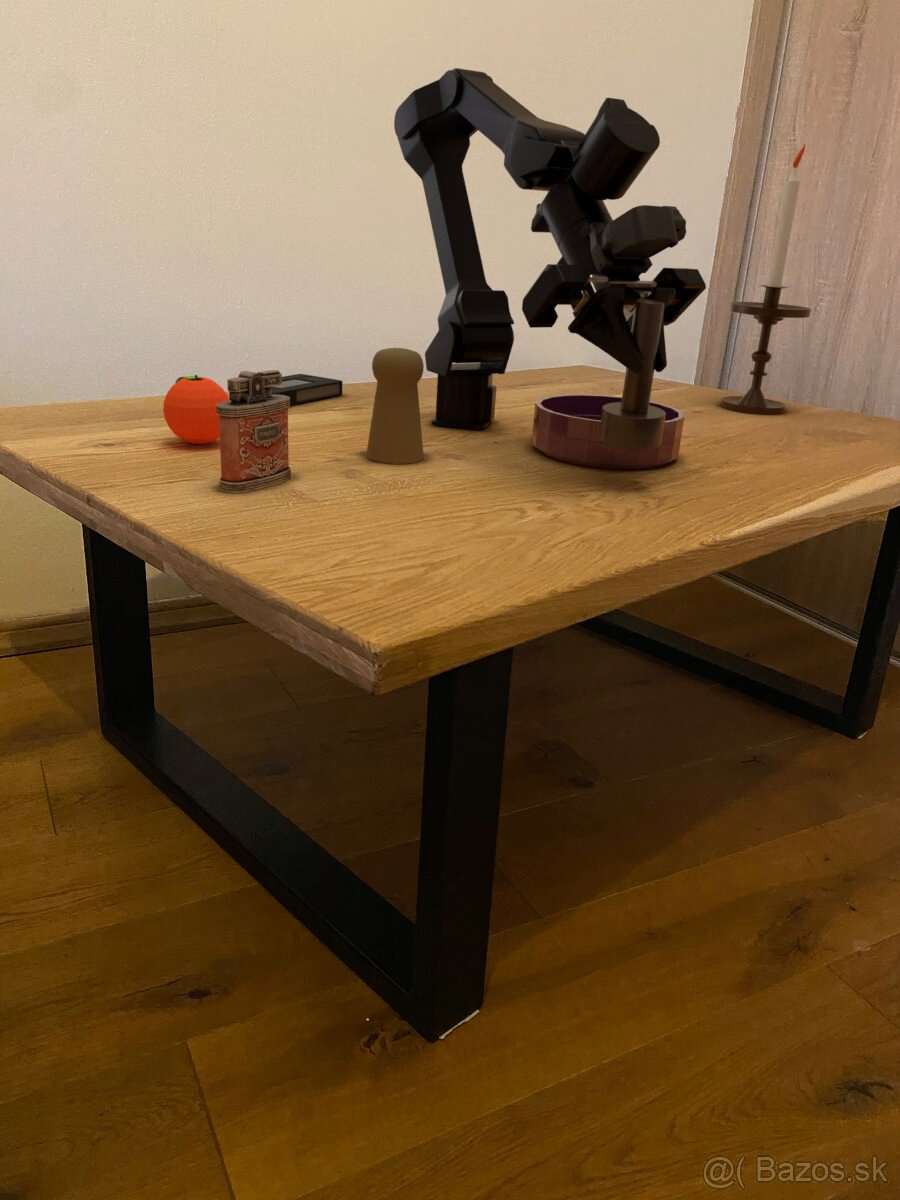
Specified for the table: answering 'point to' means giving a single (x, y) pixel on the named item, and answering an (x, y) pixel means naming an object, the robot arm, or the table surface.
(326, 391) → the vhs tape
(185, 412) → the clementine
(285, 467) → the lighter
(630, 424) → the bolt
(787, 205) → the candlestick
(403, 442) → the cork
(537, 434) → the bowl
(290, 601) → the table surface
